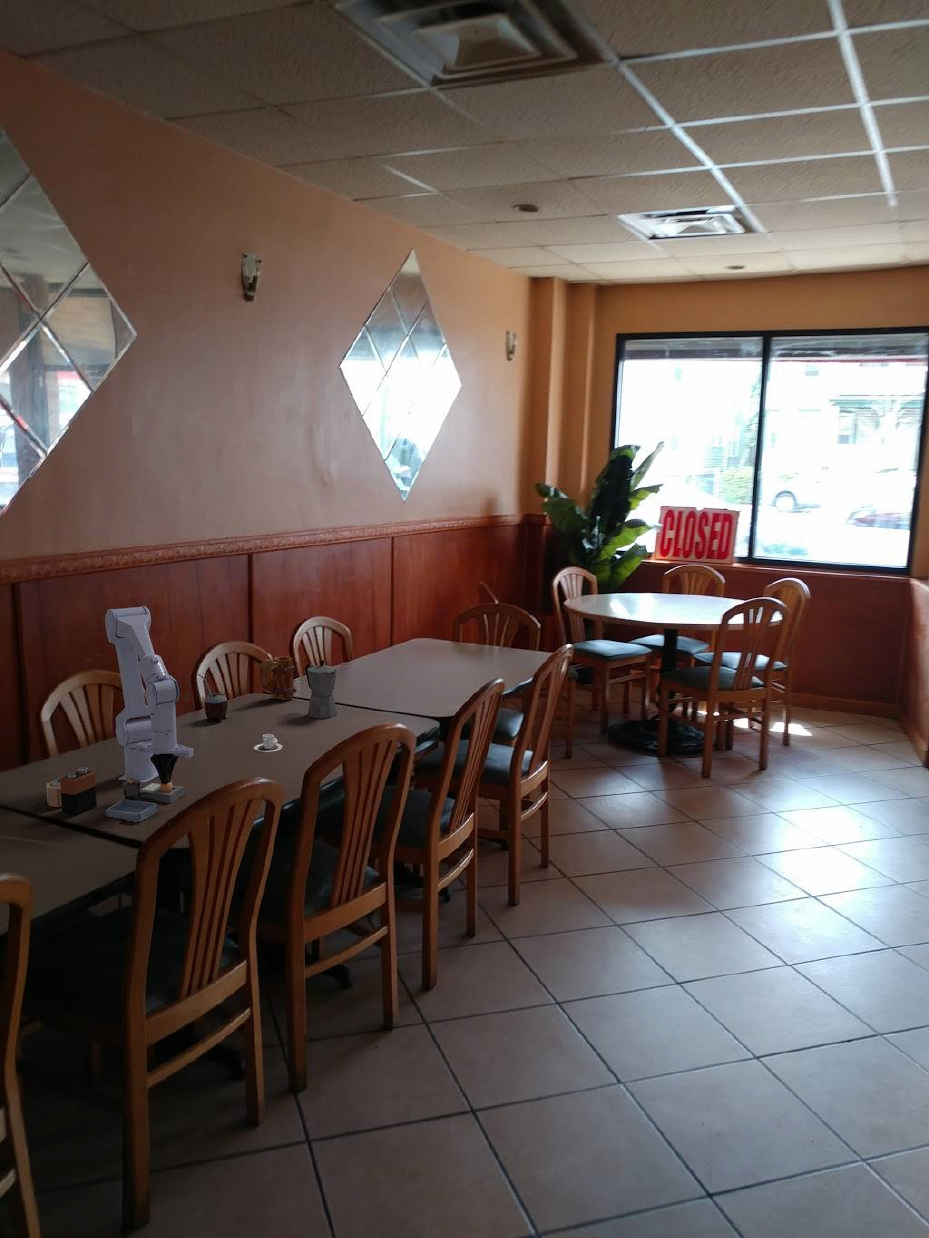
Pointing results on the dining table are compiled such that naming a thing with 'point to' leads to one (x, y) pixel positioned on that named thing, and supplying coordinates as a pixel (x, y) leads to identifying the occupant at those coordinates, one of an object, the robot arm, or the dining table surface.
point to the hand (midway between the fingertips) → (165, 782)
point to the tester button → (166, 787)
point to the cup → (53, 795)
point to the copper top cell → (131, 790)
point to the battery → (78, 792)
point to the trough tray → (131, 810)
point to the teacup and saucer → (268, 743)
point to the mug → (278, 677)
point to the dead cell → (57, 782)
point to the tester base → (161, 793)
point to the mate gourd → (215, 705)
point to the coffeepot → (321, 690)
